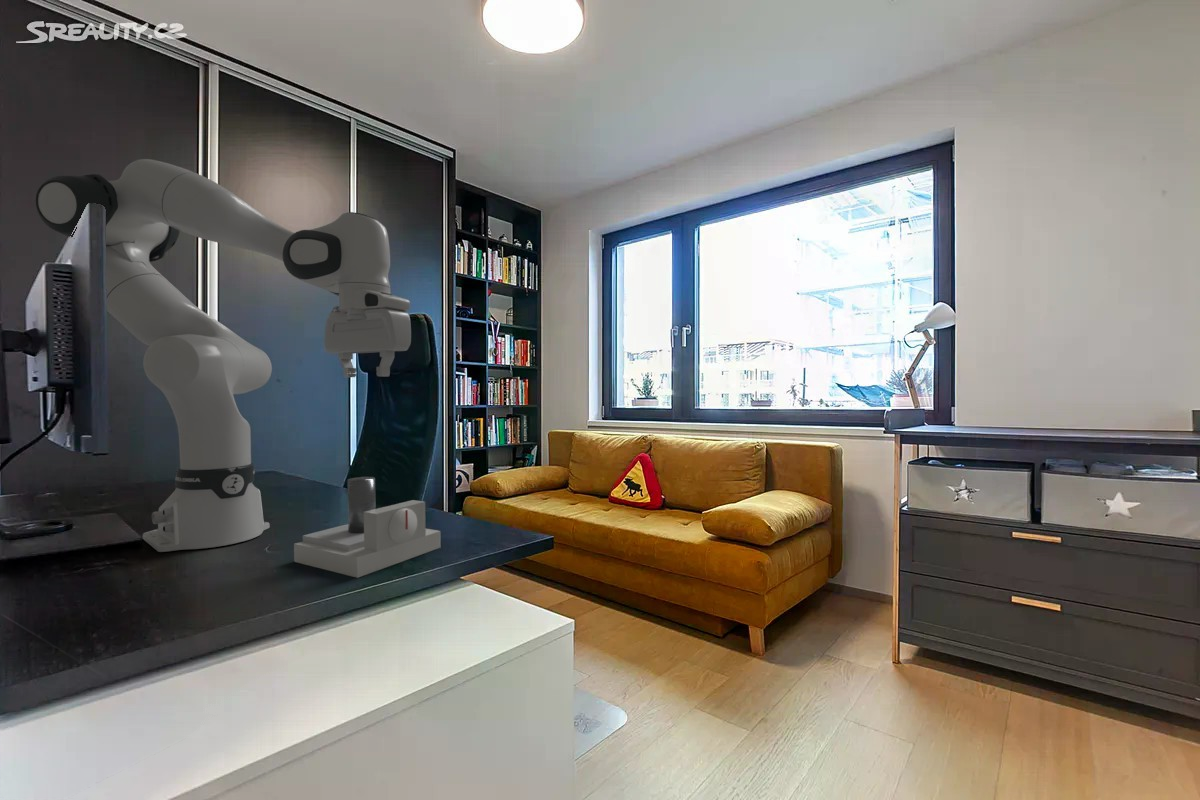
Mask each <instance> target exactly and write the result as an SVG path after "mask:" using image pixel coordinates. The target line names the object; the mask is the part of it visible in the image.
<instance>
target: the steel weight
mask: <svg viewBox="0 0 1200 800" xmlns="http://www.w3.org/2000/svg"><path fill="white" fill-rule="evenodd" d="M376 502H377V501H376V478H375V477H374V476H360V477H359V476H358V477H352V478H349V479H347V524H348V532H349V533H364V512H366V511H370V510H374V509H377V508H376V507H377V506H376V505H377V504H376Z"/></svg>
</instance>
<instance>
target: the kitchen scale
mask: <svg viewBox="0 0 1200 800" xmlns="http://www.w3.org/2000/svg"><path fill="white" fill-rule="evenodd" d="M441 531H442V530H438V529H433V528H432V529H431V528H426V501H423V500H415V499H412V500H407V501H404V502H399V503H396V504H391V505H388V506H382V507H378V508H376V509H374V510H370V511H366V512H364V533H349V532H348V523H346V524H344V525H343V524H342V525H338V526H334V527H330V528H327V529H322V530H319V531H314V532H312V533H308V534H304V535H302V541H300V542H296V543H293V561H294V562H295V563H298V564H302V565H306V566H310V567H313V568H318V569H322V570H325V571H330V572H333V573H337V574H341V575H345V576H348V577H353V578H360V577H363V576H366V575H369V574H371V573H375V572H378V571H380V570H383V569H386V568H388V567H392V566H394V565H396V564H399V563H402V562H405V561H407V560H410V559H413V558H416V557H418V556H421V555H423V554H424V555H425V554H427V553H430V552H432V551H436V550H438V549H441V548H442V547H441V543H442V542H441V541H442V539H441V534H442V532H441ZM294 562H293V563H294Z"/></svg>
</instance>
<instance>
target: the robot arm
mask: <svg viewBox="0 0 1200 800" xmlns="http://www.w3.org/2000/svg"><path fill="white" fill-rule="evenodd" d="M88 203H96V204H101V205H103V206H104V207H105V209H106V289H107V310H106V311H107V312H108V313H109V314H110V315H111V316H112V317H113V318H114V319H116V320H117V321H118V322H119V323H120V324H121V325H122V326H123V327H124V328H125V329H126V330H127V331H129V332H130V334H131V335H132V336H134V337H135V338H136V340H139V341H140V342H141V343H143V344H144V345H146V346H148V348H147V349H146V351H145V352H144V354H143V355H144V356H143V360H142V361H143V362H142V363H143V370H144V373H145V375H146V377H147V379H148V380H149V381H150V382H151V383H152V384H153V385H154V386H155V387H157V388H158V389H159V391H161V392H162V393H163V395H164V396H165V398H166V400H167V402H168V405H170V408H171V410H172V414H173V416H174V419H175V422H176V426H177V431H178V432H177V433H178V442H179V443H178V446H179V468H178V469H177V470H176V475H175V478H174V480H175V482H174V488H175V490H174V491H173V492H172V493H171V494H170V496H168V497H167V499H166V500H165V501H164V502H163V503H162V504H161V505H160V506H159V507H158V511H153V512H152V513H151V520H152V524H153V525H157V528H156V529H153V530H149V531H146V532H143V533H142V540H144V541H145V542H146V543H147V544H148V545H150V546H151V548H153V549H154V550H156V551H157V552H158V553H164V552H173V551H180V550H181V551H183V550H198V549H199V550H200V549H208V548H209V549H211V548H216V547H222V546H224V547H225V546H228V545H233V544H238V543H241V542H246V541H249V540H252V539H254V538H255V539H256V537H258V536H261V535H262V534H263V532H265V531H266V530H268V529H269V528H270V527H271V526H270V522H268V521H264V514H263V513H264V512H263V504H262V496H261V495H262V494H261V491H260V489H259V488H258V487H256V486H255V485H254V484H253V482H254V481H255V473H256V471H255V469H254V468H255V466H254V463H253V462H252V439H251V438H252V437H251V432H252V431H251V425H250V423H249V421H247V419H246V418H244V417H243V416H242V414H241V413H240V411H239V409H238V405H237V404H236V400H235V396H234V395H241V394H246V393H249V392H252V391H255V390H258V389H260V388H262V387H263V386H265V385H266V384H267V383H268V382H269V380H270V378H271V375H272V371H273V366H272V362H271V360H270V359H271V358H270V357H269V356H268V355H267V353H266V352H265V351H264V350H262V349H261V348H259V347H256V346H255V345H253V344H252V343H249V342H248V341H247V340H245V339H244V338H242V337H241V336H239V335H238V334H237V333H235V332H234V331H232V330H231V329H230V328H229V327H227V326H225V325H224V324H222V322H220V321H218V320H217V319H215V318H213V316H211V315H210V314H208V313H206V312H205V311H203V310H202V309H200V308H199V307H198V306H196V305H195V304H194V303H193V302H192V301H191V300H190V299H189V298H188V297H186V296H185V295H184V294H183V293H182V292H181V291H180V290H179V289H178V288H177V287H176V286H175V285H173V284H172V283H171V282H170V281H169V280H168V279H167V278H166V277H165V276H164V275H162V274H161V273H160V272H159V270H157V269H156V268H155V267H154V266H153V265H152V263H151V262H156V261H159V260H161V259H163V258H164V257H165V255H166V253H167V252H169V251H170V250H171V249H172V248H173V246H175V244H176V242H177V240H178V238H179V236H180V232H182V233H185V234H187V235H190V236H193V237H196V238H200V239H202V240H207V241H211V242H214V243H217V244H222V245H226V246H229V247H230V246H231V247H234V248H235V247H236V248H239V249H243V250H248V251H252V252H254V253H255V252H256V253H259V254H263V255H266V256H269V257H272V258H275V259H276V260H278V261H282V262H283V264H284V268H285V269H286V270H287V272H288V273H289V274H291V276H292V277H294V278H296V279H298V280H300V281H301V282H303V283H307V284H309V285H312V286H314V287H316V288H321V289H323V290H325V291H327V292H330V293H332V294H334V295H336V296H337V297H338V306H335V307H333V308H332V310H331V312H329V314H328V316H327V318H326V322H325V327H324V329H325V330H324V338H323V345H324V346H323V348H324V350H325V352H326V353H327V354H331V355H338V361H339V364H340V366H341V368H342V376H343V377H344V378H356V376H357V368H356V367H354V365H353V362H352V360H353V359H354V354H368V353H369V354H370V353H379V357H380V358H381V360H380V362H379V366H376V369H375V371H376V376H377V377H390V374H391V366H392V364H393V362H394V359H395V352H405V351H406V352H407V351H408V350H409V348H410V346H411V345H412V344H411V343H412V327H411V325H412V324H411V318H410V315H409V311H410V310H411V302H410V300H409V299H407V298H403V297H400V296H397V295H394V294H393V293H391V292H392V291H391V290H392V289H391V284H390V280H389V273H390V269H391V250H390V249H391V248H390V239H389V233H388V231H387V228H386V226H385V225H384V224H383V223H382V222H380V221H379V220H378V219H376V218H375V217H371V216H369V215H367V214H364V213H360V212H355V211H354V212H353V211H349V212H343V213H342V214H341V215H340V216H338V218H337V219H335V220H334V221H332V222H329V223H327V224H325V225H322V226H319V227H316V228H311V229H301V230H299V231H296V232H293V231H291V230H289V229H287V228H285V227H283V226H281V225H279V223H276V222H275V221H273V220H272V219H270V218H268V217H267V216H265V214H263V213H261V211H258V210H257V209H256V208H254V207H253V205H250V204H249V203H247V202H246V201H244V200H243V199H242V198H240V197H239V196H237V195H236V194H234V193H233V192H232V191H230V190H229V189H227V188H226V187H223V186H222V185H220V184H219V183H217V182H215V181H213V180H212V179H210V178H208V177H206V176H204V175H201V174H199V173H196V172H194V171H192V170H190V169H187V168H184V167H180V166H178V165H175V164H171V163H168V162H165V161H159V160H156V159H150V158H144V159H143V158H141V159H136V160H133V161H132V162H130V163H129V164H128V165H127V166H125V168H124V169H123V171H122V173H121V176H120V177H119V178H118V179H116V180H107V179H106V178H105V177H103V176H102V175H100V174H98V173H93V174H92V173H91V174H85V175H57V176H53V177H51V178H48V179H46V180H45V181H43V183H42V184H41V185H40V186H39V188H38V190H37V192H36V195H35V209H36V211H37V214H38V216H39V217H40V220H42V222H43V223H44V224H45V225H46V226H47V227H48V228H50V229H52V230H53V231H54V232H57V233H59V234H62V235H65V236H67V237H69V238H72V237H73V235H74V233H75V231H76V229H77V227H76V229H75V231H74V232H73V230H74V228H75V226H76V225H77V223H78V221H79V219H80V218H81V215H82V213H83V211H84V209H85V207H86V205H87V204H88ZM72 232H73V234H72ZM71 234H72V235H71ZM70 236H71V237H70Z"/></svg>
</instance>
